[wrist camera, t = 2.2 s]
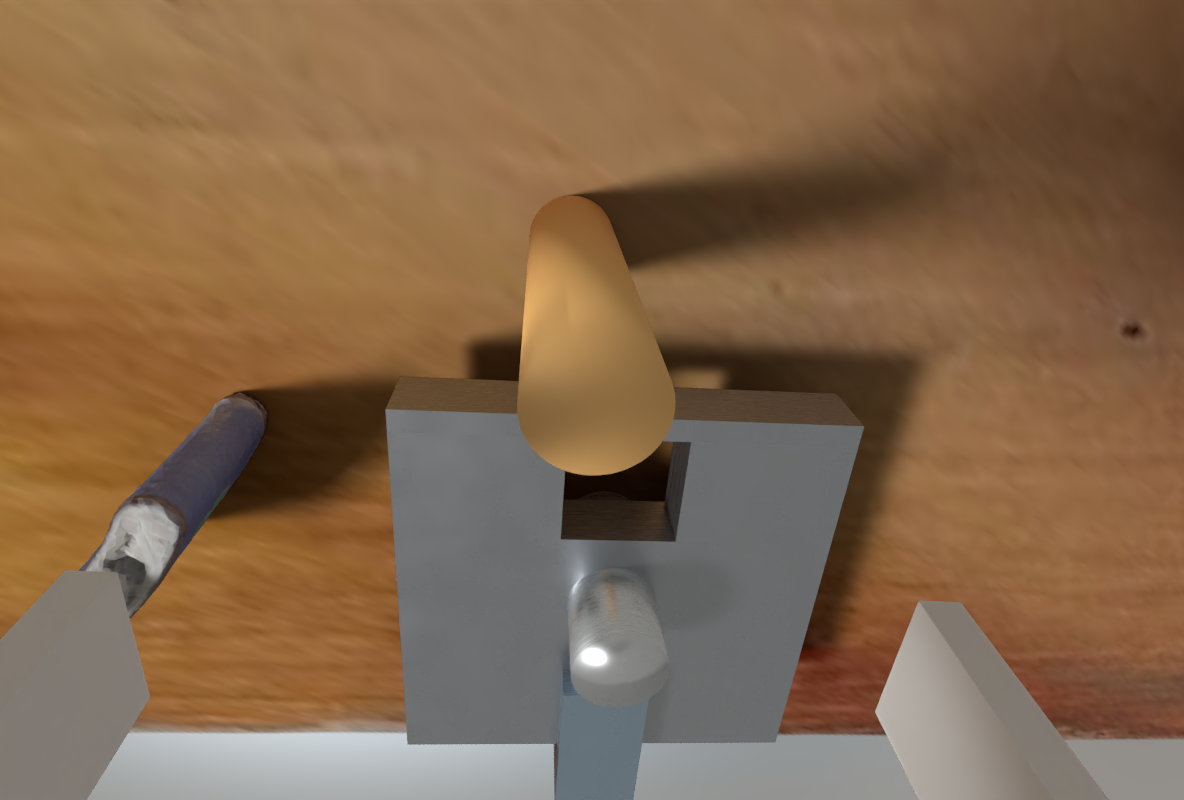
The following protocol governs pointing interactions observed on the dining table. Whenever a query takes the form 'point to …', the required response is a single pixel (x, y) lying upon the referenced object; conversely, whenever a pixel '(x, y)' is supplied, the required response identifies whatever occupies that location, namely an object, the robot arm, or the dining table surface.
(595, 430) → the light orange cylinder
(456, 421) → the grey plate
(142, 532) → the flask
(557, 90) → the dining table surface
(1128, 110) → the dining table surface
